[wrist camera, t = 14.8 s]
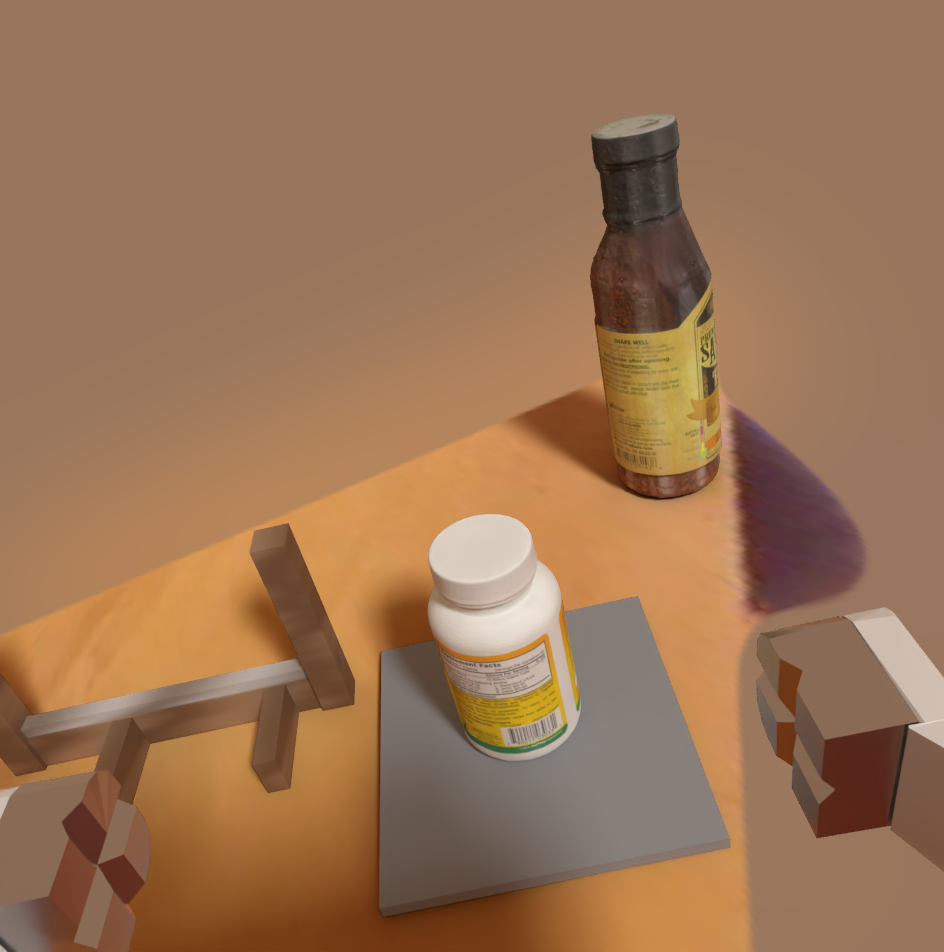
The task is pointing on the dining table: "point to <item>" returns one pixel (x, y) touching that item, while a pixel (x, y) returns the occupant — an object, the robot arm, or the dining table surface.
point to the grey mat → (539, 777)
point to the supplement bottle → (502, 638)
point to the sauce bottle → (654, 315)
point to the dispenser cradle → (201, 693)
